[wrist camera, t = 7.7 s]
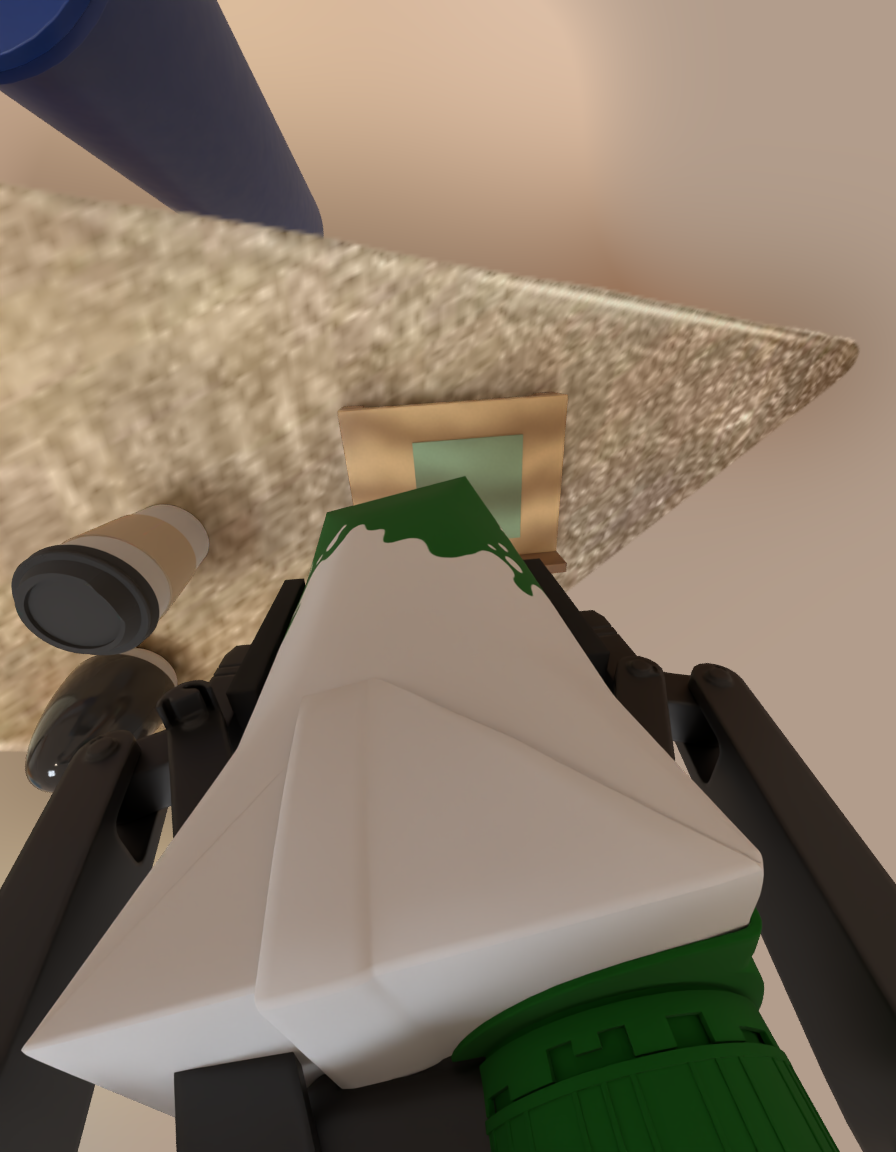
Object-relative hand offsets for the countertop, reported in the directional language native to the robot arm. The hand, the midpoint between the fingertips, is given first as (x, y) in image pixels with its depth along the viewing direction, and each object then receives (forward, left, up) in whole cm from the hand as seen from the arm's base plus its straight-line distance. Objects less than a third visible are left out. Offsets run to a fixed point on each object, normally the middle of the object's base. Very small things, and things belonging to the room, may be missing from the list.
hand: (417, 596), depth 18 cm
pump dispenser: (+21, -33, -26) cm, 47 cm away
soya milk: (0, 0, -5) cm, 5 cm away
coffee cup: (+5, -24, -26) cm, 36 cm away
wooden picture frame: (+2, +5, -26) cm, 27 cm away
